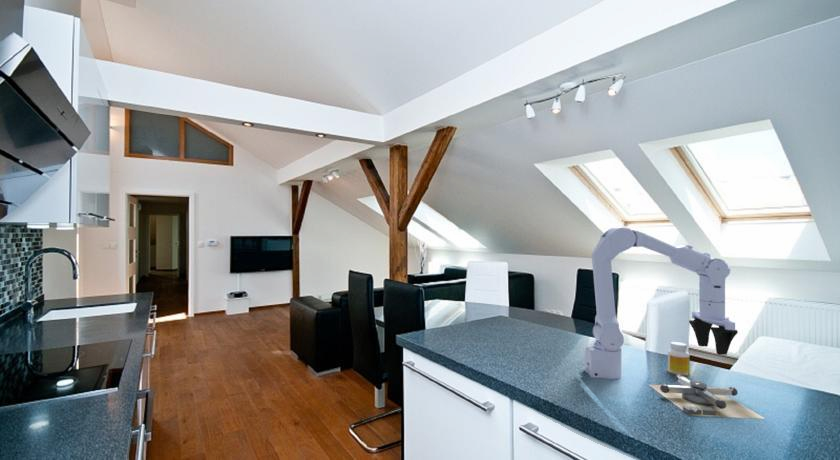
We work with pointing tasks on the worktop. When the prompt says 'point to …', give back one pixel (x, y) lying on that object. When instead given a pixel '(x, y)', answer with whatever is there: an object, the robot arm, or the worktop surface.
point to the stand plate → (730, 411)
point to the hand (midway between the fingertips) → (712, 350)
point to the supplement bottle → (678, 359)
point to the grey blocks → (699, 410)
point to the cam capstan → (699, 392)
